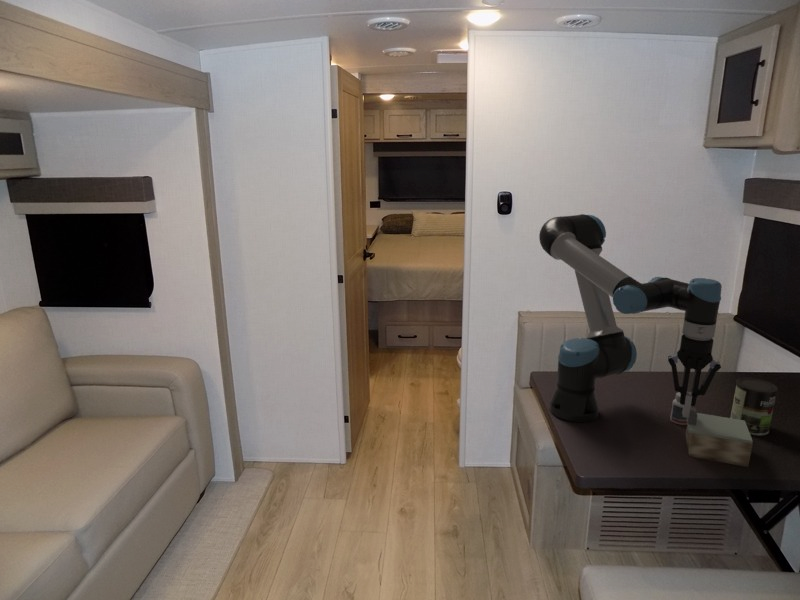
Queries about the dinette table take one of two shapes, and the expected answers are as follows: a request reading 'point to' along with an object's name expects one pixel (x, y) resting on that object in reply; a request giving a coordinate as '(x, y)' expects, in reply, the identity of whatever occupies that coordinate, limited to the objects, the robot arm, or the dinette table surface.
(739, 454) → the box
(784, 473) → the dinette table surface
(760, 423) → the coffee can
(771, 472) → the dinette table surface
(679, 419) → the pill bottle
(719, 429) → the lid
